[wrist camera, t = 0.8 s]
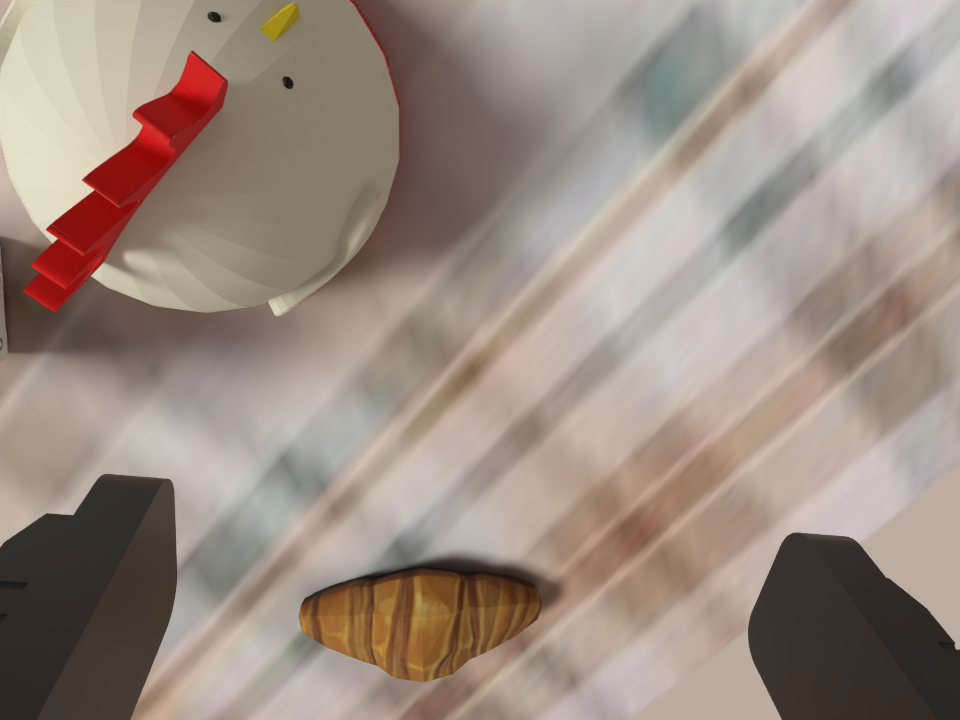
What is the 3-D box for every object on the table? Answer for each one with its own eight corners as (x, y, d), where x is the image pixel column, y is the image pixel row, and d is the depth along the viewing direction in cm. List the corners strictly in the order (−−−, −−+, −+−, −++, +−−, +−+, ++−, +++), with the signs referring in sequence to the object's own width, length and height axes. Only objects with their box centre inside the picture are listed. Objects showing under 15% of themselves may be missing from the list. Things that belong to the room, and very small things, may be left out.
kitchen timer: (468, 114, 30) (516, 197, 17) (268, 340, 34) (177, 557, 21) (179, -169, 25) (-79, -368, 12) (-20, 131, 29) (-389, 237, 16)
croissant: (307, 644, 43) (295, 719, 38) (295, 554, 40) (281, 624, 35) (535, 630, 44) (550, 701, 39) (540, 541, 41) (556, 607, 36)
